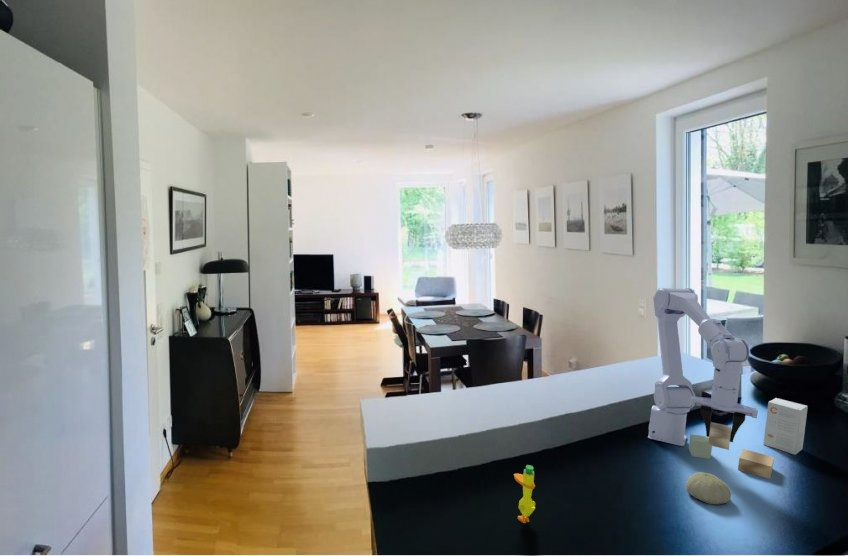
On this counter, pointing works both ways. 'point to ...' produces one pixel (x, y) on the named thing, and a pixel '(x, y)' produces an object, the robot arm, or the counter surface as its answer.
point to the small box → (785, 425)
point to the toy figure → (526, 493)
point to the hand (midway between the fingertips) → (719, 438)
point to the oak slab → (756, 463)
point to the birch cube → (719, 435)
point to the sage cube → (700, 446)
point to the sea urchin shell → (708, 488)
